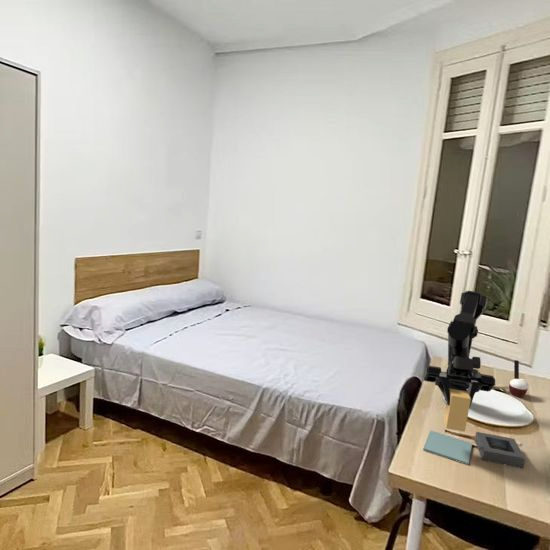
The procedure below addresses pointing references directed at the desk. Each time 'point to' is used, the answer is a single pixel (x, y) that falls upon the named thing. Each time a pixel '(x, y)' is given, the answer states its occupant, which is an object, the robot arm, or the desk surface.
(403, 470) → the desk surface
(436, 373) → the robot arm
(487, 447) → the square-hole plate
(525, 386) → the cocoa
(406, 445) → the desk surface
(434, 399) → the desk surface
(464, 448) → the rubber mat
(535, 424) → the desk surface
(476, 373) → the phone
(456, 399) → the ochre square block
